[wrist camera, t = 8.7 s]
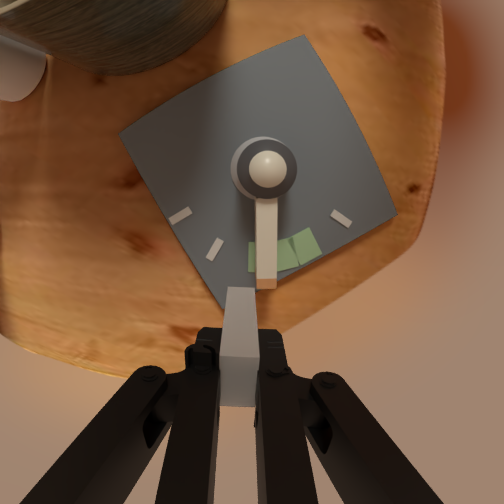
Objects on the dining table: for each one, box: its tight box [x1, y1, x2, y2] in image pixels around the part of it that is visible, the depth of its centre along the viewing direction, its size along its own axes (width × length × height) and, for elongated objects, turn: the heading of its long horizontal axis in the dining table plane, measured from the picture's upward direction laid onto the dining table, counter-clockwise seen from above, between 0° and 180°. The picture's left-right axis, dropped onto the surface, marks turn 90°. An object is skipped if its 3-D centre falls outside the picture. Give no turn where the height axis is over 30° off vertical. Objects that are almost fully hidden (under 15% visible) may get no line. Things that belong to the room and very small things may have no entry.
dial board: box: [118, 35, 398, 309], centre depth 30 cm, size 22×22×1 cm
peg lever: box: [237, 139, 297, 289], centre depth 28 cm, size 13×5×6 cm, turn 1°
